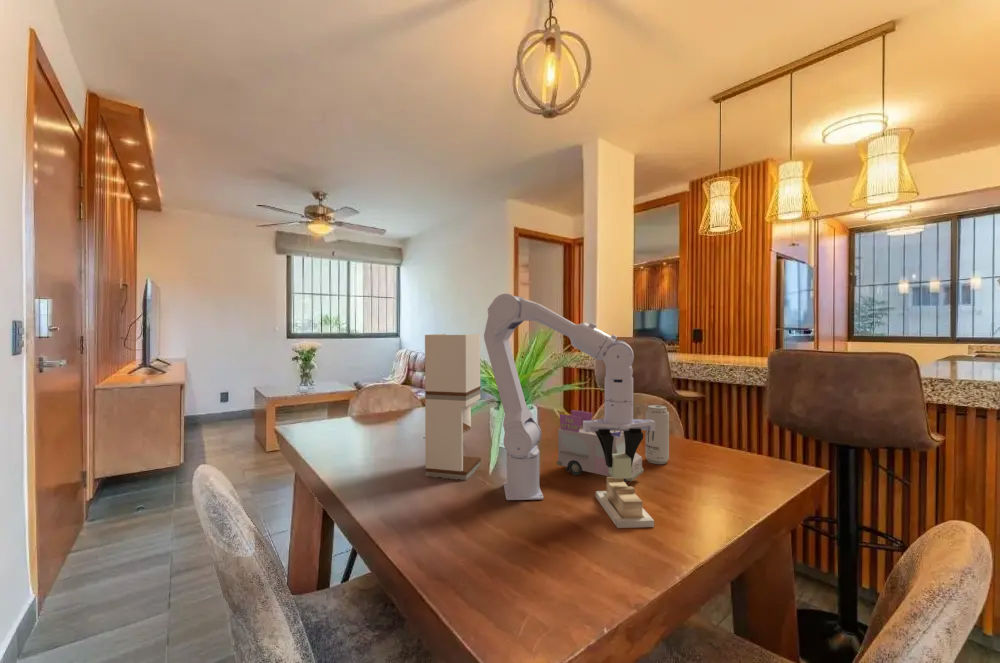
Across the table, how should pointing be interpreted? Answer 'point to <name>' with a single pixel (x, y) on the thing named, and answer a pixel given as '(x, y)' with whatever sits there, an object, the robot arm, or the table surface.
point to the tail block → (620, 466)
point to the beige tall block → (450, 402)
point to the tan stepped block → (623, 498)
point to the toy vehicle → (588, 447)
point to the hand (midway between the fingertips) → (618, 465)
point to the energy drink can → (657, 435)
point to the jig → (623, 522)
